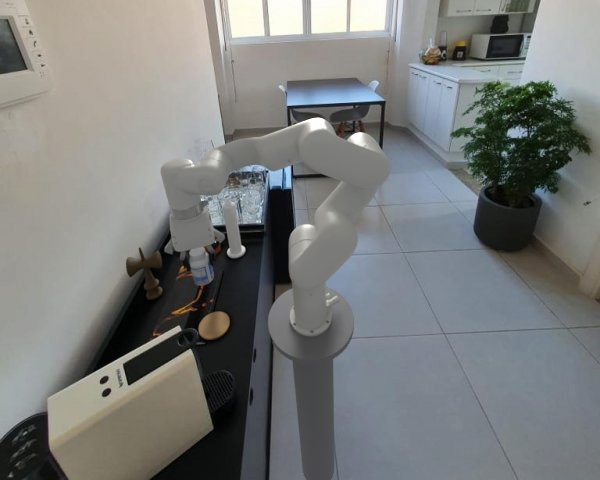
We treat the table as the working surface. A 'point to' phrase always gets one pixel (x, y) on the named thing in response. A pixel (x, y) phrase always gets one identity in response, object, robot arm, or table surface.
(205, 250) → the pot
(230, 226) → the candle
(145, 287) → the kendama
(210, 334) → the coaster
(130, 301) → the table surface
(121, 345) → the table surface
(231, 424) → the table surface
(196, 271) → the pill bottle
